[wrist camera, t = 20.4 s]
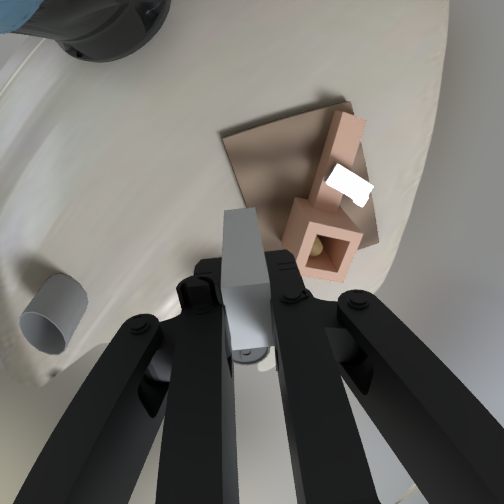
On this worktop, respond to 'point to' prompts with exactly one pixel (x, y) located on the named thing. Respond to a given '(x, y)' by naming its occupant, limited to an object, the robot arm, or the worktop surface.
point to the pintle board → (292, 172)
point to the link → (327, 209)
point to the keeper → (348, 183)
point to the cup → (54, 314)
